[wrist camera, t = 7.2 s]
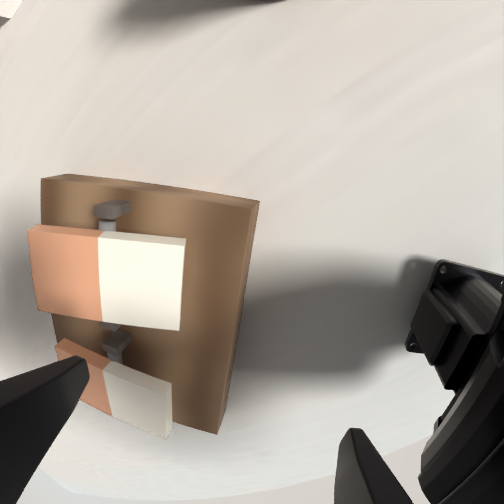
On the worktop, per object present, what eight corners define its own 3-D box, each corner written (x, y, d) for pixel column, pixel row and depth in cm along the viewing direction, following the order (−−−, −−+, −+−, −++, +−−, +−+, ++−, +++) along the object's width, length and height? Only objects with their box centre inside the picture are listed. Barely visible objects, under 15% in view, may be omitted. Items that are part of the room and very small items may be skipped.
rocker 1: (187, 226, 16) (185, 238, 15) (181, 316, 18) (179, 336, 16) (44, 213, 15) (27, 223, 13) (52, 299, 17) (39, 315, 15)
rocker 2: (177, 370, 18) (163, 390, 16) (177, 423, 20) (166, 442, 18) (70, 327, 19) (53, 341, 17) (82, 382, 21) (69, 396, 19)
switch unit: (259, 200, 18) (243, 217, 13) (225, 409, 24) (210, 452, 19) (65, 173, 20) (18, 182, 15) (80, 358, 26) (52, 387, 21)
